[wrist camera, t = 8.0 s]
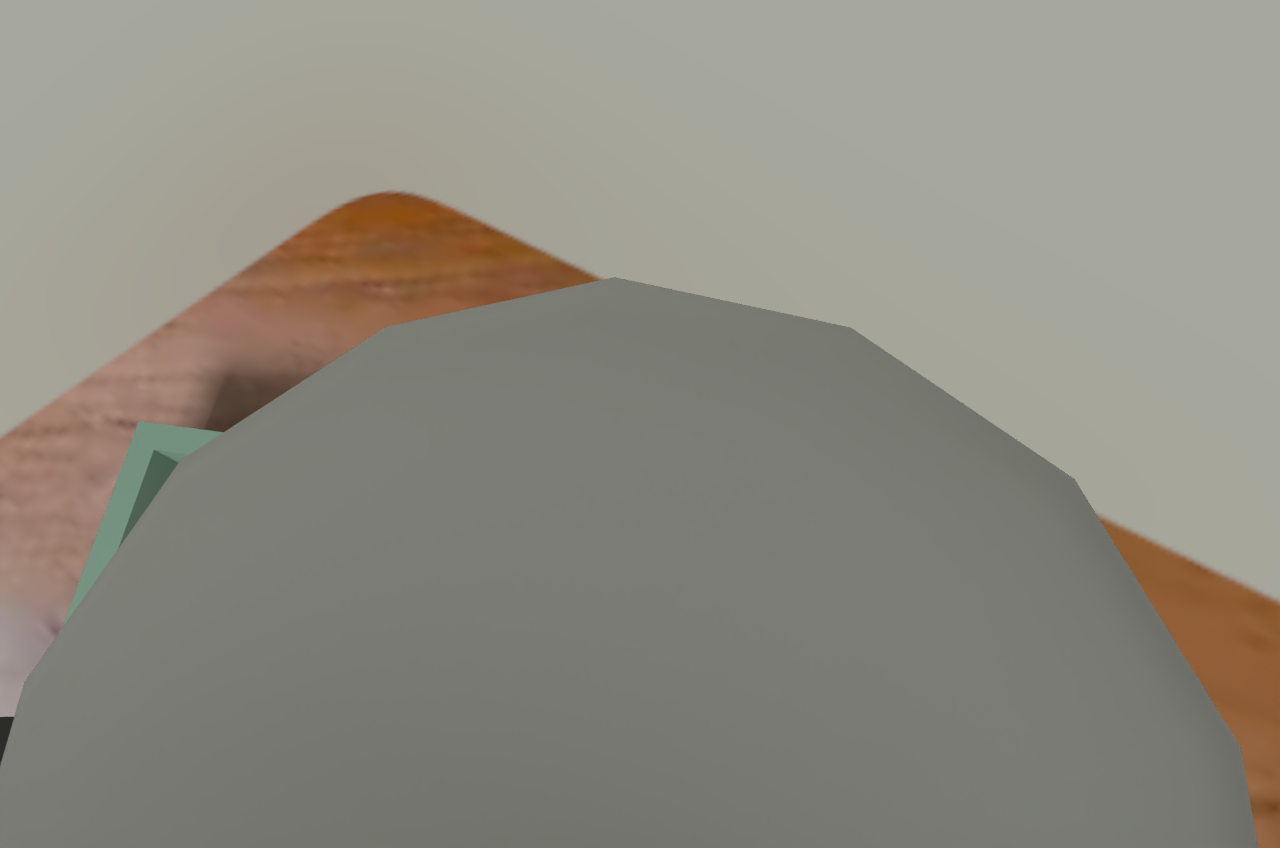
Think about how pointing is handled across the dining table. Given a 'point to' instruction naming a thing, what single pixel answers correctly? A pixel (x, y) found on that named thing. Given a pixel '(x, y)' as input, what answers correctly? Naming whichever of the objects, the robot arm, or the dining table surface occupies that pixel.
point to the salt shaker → (618, 614)
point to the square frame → (137, 490)
